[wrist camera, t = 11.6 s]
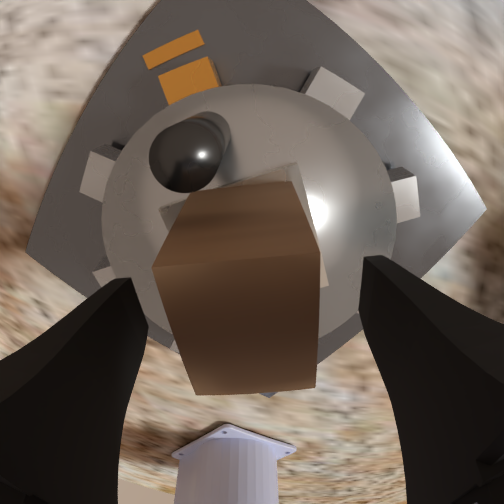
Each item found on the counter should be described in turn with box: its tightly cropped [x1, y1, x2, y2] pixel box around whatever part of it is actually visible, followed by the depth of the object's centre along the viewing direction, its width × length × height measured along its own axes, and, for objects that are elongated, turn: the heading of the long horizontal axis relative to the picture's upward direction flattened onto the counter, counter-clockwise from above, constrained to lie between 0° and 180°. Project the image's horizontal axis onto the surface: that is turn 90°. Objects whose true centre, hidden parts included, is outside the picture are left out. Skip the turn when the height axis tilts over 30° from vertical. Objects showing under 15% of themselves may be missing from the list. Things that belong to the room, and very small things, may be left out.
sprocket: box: [79, 56, 420, 353], centre depth 11 cm, size 14×14×6 cm
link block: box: [151, 181, 320, 395], centre depth 10 cm, size 4×4×5 cm
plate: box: [26, 0, 487, 398], centre depth 14 cm, size 18×18×1 cm
